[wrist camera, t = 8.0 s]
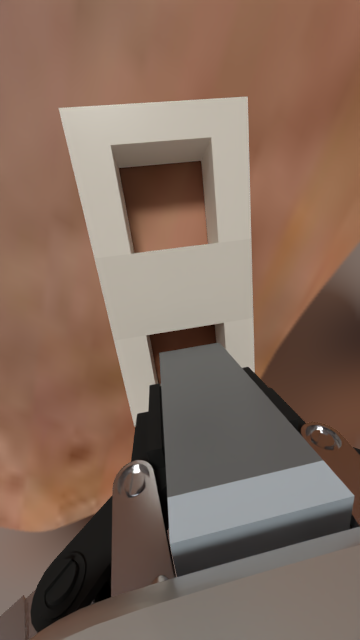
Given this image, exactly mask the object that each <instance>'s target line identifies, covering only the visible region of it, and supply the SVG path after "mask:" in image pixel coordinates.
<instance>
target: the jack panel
mask: <svg viewBox="0 0 360 640" xmlns="http://www.w3.org/2000/svg"><path fill="white" fill-rule="evenodd" d="M59 111H60V116H61V120H62V124H63V128H64V132H65V137H66V141H67V145H68V149H69V153H70V158H71V162H72V166H73V170H74V174H75V179H76V183H77V187H78V191H79V195H80V200H81V204H82V208H83V212H84V216H85V221H86V225H87V229H88V233H89V237H90V242H91V246H92V250H93V254H94V258H95V263H96V267H97V271H98V275H99V279H100V284H101V288H102V292H103V296H104V300H105V305H106V309H107V313H108V317H109V321H110V326H111V330H112V334H113V338H114V342H115V347H116V351H117V355H118V359H119V363H120V368H121V372H122V376H123V380H124V384H125V389H126V393H127V397H128V401H129V405H130V410H131V414H132V418H133V422H134V426H136V418H137V414H138V413H143V412H148V408H149V386H150V385H153V384H158V380H157V374H156V369H155V363H154V358H153V352H152V347H151V341H150V336H149V335H151V334H157V333H164V332H170V331H176V330H182V329H188V328H194V327H200V326H207V325H213V324H215V334H216V343H220V344H221V345H222V346H223V347H224V348H225V349H226V350H227V352H228V353H229V354H230V355H231V356H232V357H233V358H234V360H235V361H236V362H237V363H238V364H239V365H240V366H241V367H242V368H244V367H249V368H250V369H251V370H252V371H253V372H254V373H255V369H254V329H253V290H252V250H251V211H250V171H249V132H248V97H235V98H218V99H202V100H185V101H169V102H152V103H135V104H119V105H102V106H86V107H69V108H59ZM193 161H201V165H202V177H203V189H204V201H205V213H206V225H207V237H208V244H205V245H197V246H189V247H181V248H173V249H165V250H158V251H150V252H142V253H134V248H133V243H132V237H131V232H130V227H129V221H128V216H127V210H126V205H125V199H124V194H123V188H122V183H121V177H120V172H119V168H125V167H136V166H147V165H159V164H170V163H182V162H193ZM160 386H161V384H160Z"/></svg>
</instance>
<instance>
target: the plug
mask: <svg viewBox="0 0 360 640" xmlns="http://www.w3.org/2000/svg"><path fill="white" fill-rule="evenodd" d="M159 356H160V374H161V392H162V409H163V427H164V445H165V463H166V481H167V499H168V517H169V534H170V546H171V550H172V555H173V560H174V564H175V569H176V573H177V577H180V576H183V575H187V574H190V573H194V572H197V571H201V570H205V569H208V568H212V567H215V566H219V565H222V564H226V563H229V562H233V561H236V560H240V559H243V558H247V557H251V556H254V555H258V554H261V553H265V552H269V551H272V550H276V549H279V548H283V547H287V546H290V545H294V544H298V543H301V542H305V541H308V540H312V539H316V538H319V537H323V536H327V535H330V534H334V533H338V532H341V531H345V530H349V527H350V521H351V515H352V509H353V502H354V495H353V493H352V492H351V491H350V490H349V489H348V488H347V487H346V486H345V484H344V483H343V482H342V481H341V480H340V479H339V478H338V476H337V475H336V474H335V473H334V472H333V471H332V470H331V469H330V467H329V466H328V465H327V464H326V463H325V462H324V461H323V459H322V458H321V457H320V456H319V455H318V454H317V453H316V451H315V450H314V449H313V448H312V447H311V446H310V445H309V444H308V442H307V441H306V440H305V439H304V438H303V437H302V436H301V434H300V433H299V432H298V431H297V430H296V429H295V428H294V427H293V425H292V424H291V423H290V422H289V421H288V420H287V419H286V417H285V416H284V415H283V414H282V413H281V412H280V411H279V409H278V408H277V407H276V406H275V405H274V404H273V403H272V402H271V400H270V399H269V398H268V397H267V396H266V395H265V394H264V392H263V391H262V390H261V389H260V388H259V387H258V386H257V385H256V383H255V382H254V381H253V380H252V379H251V378H250V377H249V375H248V374H247V373H246V372H245V371H244V370H243V369H242V367H241V366H240V365H239V364H238V363H237V362H236V361H235V360H234V358H233V357H232V356H231V355H230V354H229V353H228V352H227V350H226V349H225V348H224V347H223V346H222V345H221V344H220V343H214V344H208V345H202V346H196V347H191V348H185V349H179V350H173V351H167V352H162V353H159Z"/></svg>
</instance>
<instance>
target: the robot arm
mask: <svg viewBox="0 0 360 640" xmlns="http://www.w3.org/2000/svg"><path fill="white" fill-rule="evenodd" d="M242 369H243V370H244V371H245V372H246V373H247V374H248V375H249V377H250V378H251V379H252V380H253V381H254V382H255V383H256V385H257V386H258V387H259V388H260V389H261V390H262V391H263V392H264V394H265V395H266V396H267V397H268V398H269V399H270V400H271V402H272V403H273V404H274V405H275V406H276V407H277V408H278V409H279V411H280V412H281V413H282V414H283V415H284V416H285V417H286V419H287V420H288V421H289V422H290V423H291V424H292V425H293V427H294V428H295V429H296V430H297V431H298V432H299V433H300V434H301V436H302V437H303V438H304V439H305V440H306V441H307V442H308V444H309V445H310V446H311V447H312V448H313V449H314V450H315V451H316V453H317V454H318V455H319V456H320V457H321V458H322V459H323V461H324V462H325V463H326V464H327V465H328V466H329V467H330V469H331V470H332V471H333V472H334V473H335V474H336V475H337V476H338V478H339V479H340V480H341V481H342V482H343V483H344V484H345V486H346V487H347V488H348V489H349V490H350V491H351V492H352V493H353V495H354V502H353V509H352V515H351V521H350V527H349V530H345V531H341V532H338V533H334V534H330V535H327V536H323V537H319V538H316V539H312V540H308V541H305V542H301V543H298V544H294V545H290V546H287V547H283V548H279V549H276V550H272V551H269V552H265V553H261V554H258V555H254V556H251V557H247V558H243V559H240V560H236V561H233V562H229V563H226V564H222V565H219V566H215V567H212V568H208V569H205V570H201V571H197V572H194V573H190V574H187V575H183V576H180V577H176V574H175V569H174V564H173V559H172V554H171V549H170V544H169V540H168V534H167V530H168V528H169V517H168V499H167V481H166V463H165V445H164V427H163V409H162V392H161V386H160V383H158V384H153V385H150V386H149V408H148V412H143V413H138V414H137V418H136V427H135V435H134V443H133V452H132V460H131V462H130V463H128V464H126V465H125V466H124V467H123V468H122V469H121V470H120V471H119V472H118V474H117V475H116V478H115V480H114V483H113V495H112V496H111V498H110V499H109V500H108V501H107V502H106V503H105V504H104V505H103V506H102V508H101V509H100V510H99V511H98V512H97V513H96V514H95V515H94V516H93V518H92V519H91V520H90V521H89V522H88V523H87V524H86V525H85V526H84V528H83V529H82V530H81V531H80V532H79V533H78V534H77V535H76V536H75V538H74V539H73V540H72V541H71V542H70V543H69V544H68V545H67V546H66V548H65V549H64V550H63V551H62V552H61V553H60V554H59V555H58V556H57V558H56V559H55V560H54V561H53V562H52V563H51V565H50V566H49V567H48V569H47V570H46V571H45V573H44V575H43V576H42V578H41V580H40V582H39V584H38V585H37V588H36V590H35V591H34V592H32V593H31V594H30V595H29V596H28V597H27V598H25V597H24V595H23V596H22V597H21V598H20V599H19V600H18V601H17V602H16V603H14V605H12V606H11V607H10V608H9V609H8V610H7V611H6V612H4V613H3V614H2V615H1V616H0V640H360V449H357V448H354V447H352V446H351V445H350V444H349V442H348V441H347V440H346V439H345V438H344V437H343V436H342V435H341V434H340V433H339V432H338V431H337V430H335V429H334V428H332V427H330V426H328V425H325V424H322V423H318V422H309V423H305V422H304V421H303V420H302V419H301V418H300V417H299V416H298V415H297V414H296V413H295V412H294V411H293V410H292V408H291V407H290V406H289V405H287V403H286V402H284V400H283V399H282V398H281V397H280V396H279V395H278V394H277V393H276V392H275V391H274V390H273V389H272V388H268V387H267V386H266V385H265V383H263V381H262V380H261V379H260V378H259V377H258V376H257V375H256V374H255V373H254V372H253V371H252V370H251V369H250V368H249V367H244V368H242Z"/></svg>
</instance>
